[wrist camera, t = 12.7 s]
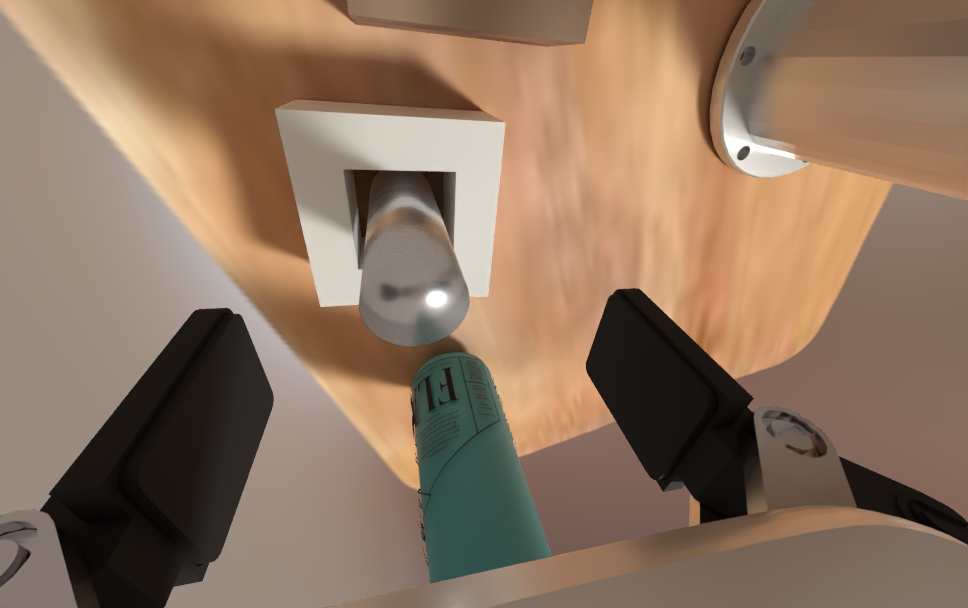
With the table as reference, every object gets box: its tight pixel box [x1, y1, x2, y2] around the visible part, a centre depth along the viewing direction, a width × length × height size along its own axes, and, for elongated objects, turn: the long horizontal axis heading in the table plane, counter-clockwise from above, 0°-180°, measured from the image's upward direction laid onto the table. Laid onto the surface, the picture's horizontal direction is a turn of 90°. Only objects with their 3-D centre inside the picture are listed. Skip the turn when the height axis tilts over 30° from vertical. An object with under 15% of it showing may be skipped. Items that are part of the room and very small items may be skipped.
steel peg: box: [359, 170, 469, 346], centre depth 15 cm, size 3×3×11 cm
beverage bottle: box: [410, 352, 552, 584], centre depth 20 cm, size 6×7×20 cm
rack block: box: [274, 99, 506, 307], centre depth 18 cm, size 9×9×4 cm
